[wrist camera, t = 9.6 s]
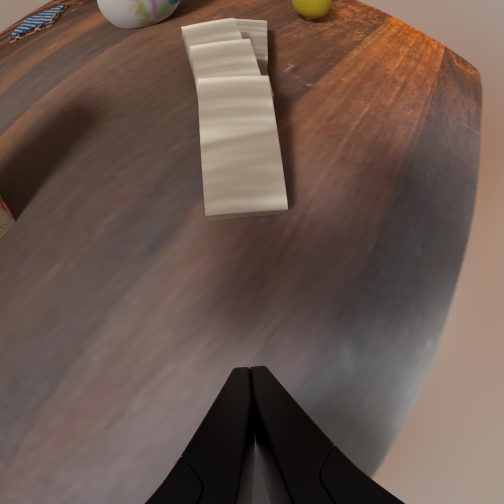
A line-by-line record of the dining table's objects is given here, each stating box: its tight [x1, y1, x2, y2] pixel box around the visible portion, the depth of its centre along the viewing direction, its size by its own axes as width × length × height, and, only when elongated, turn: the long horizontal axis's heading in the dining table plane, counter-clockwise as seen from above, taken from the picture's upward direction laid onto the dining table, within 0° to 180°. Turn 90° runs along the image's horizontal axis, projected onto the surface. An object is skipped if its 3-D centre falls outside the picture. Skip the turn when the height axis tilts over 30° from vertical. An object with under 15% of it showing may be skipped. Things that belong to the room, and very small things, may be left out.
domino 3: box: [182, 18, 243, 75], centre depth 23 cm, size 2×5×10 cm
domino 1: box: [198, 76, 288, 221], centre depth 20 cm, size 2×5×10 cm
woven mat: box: [9, 4, 67, 43], centre depth 35 cm, size 10×11×2 cm
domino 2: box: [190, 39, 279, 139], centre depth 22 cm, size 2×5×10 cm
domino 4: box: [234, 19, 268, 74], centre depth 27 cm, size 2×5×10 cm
